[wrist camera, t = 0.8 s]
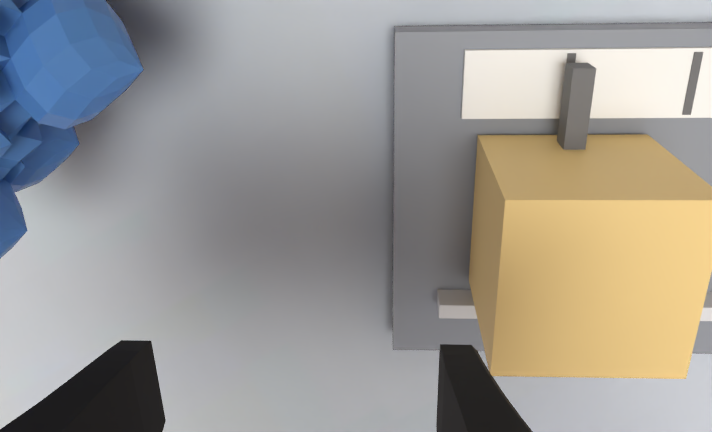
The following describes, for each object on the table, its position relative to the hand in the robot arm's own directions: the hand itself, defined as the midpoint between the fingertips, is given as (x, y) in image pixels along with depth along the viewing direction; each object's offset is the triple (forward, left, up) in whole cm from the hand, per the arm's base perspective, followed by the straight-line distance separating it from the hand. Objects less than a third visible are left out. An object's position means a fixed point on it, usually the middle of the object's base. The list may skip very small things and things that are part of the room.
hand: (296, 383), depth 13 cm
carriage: (+1, -7, -8) cm, 11 cm away
